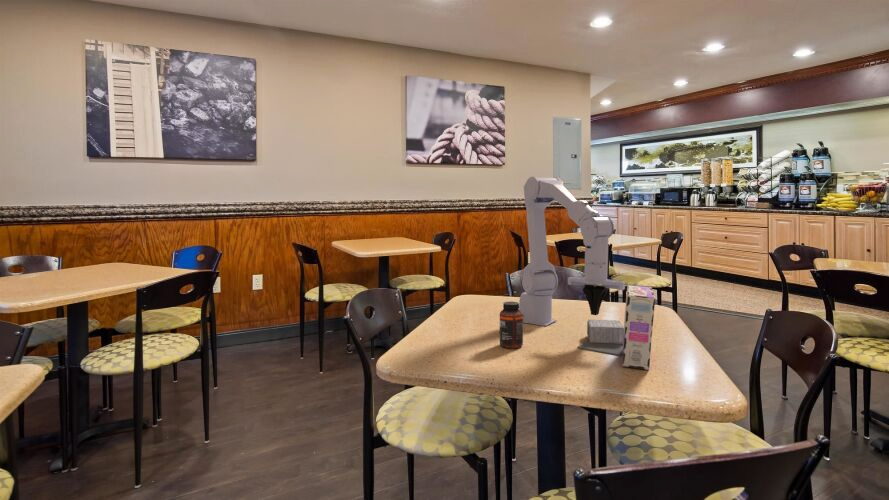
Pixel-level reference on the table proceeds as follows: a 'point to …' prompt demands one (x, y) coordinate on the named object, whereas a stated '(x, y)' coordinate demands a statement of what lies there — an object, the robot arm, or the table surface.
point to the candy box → (638, 326)
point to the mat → (603, 347)
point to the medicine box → (605, 331)
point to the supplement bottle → (511, 326)
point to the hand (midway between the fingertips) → (594, 314)
